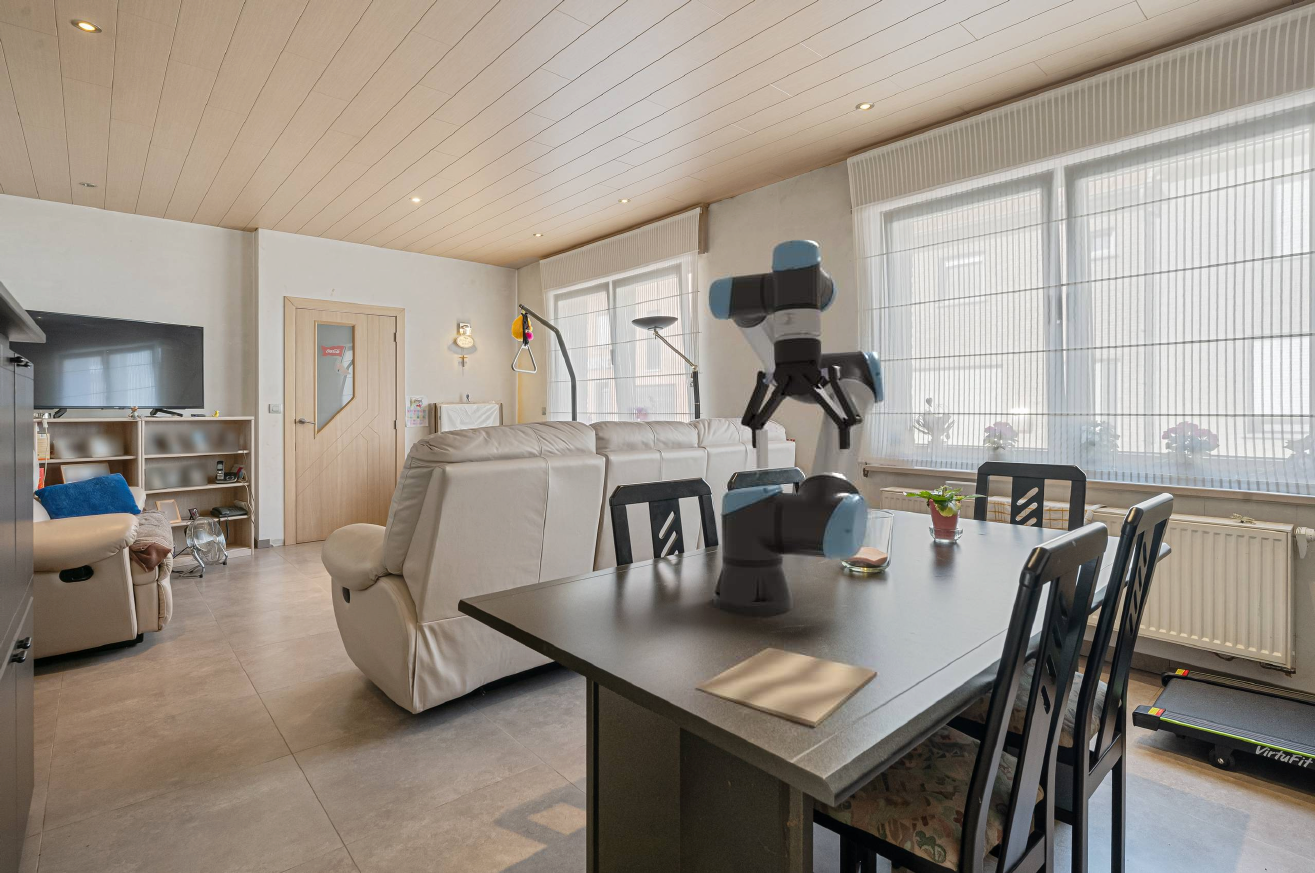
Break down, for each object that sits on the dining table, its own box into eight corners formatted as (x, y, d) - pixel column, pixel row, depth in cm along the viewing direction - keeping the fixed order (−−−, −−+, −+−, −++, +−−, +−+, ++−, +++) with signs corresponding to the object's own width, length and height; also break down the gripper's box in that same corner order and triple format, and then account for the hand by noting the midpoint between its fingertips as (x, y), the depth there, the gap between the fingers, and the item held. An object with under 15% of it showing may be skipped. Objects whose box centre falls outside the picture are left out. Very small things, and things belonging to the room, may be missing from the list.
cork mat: (695, 692, 86) (695, 687, 86) (769, 651, 102) (769, 647, 102) (815, 726, 76) (815, 721, 76) (877, 675, 91) (876, 671, 91)
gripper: (719, 344, 111) (722, 468, 111) (864, 329, 95) (866, 473, 96) (742, 347, 117) (744, 465, 117) (881, 333, 101) (883, 469, 102)
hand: (799, 469), depth 107 cm, fingers open, 13 cm apart
